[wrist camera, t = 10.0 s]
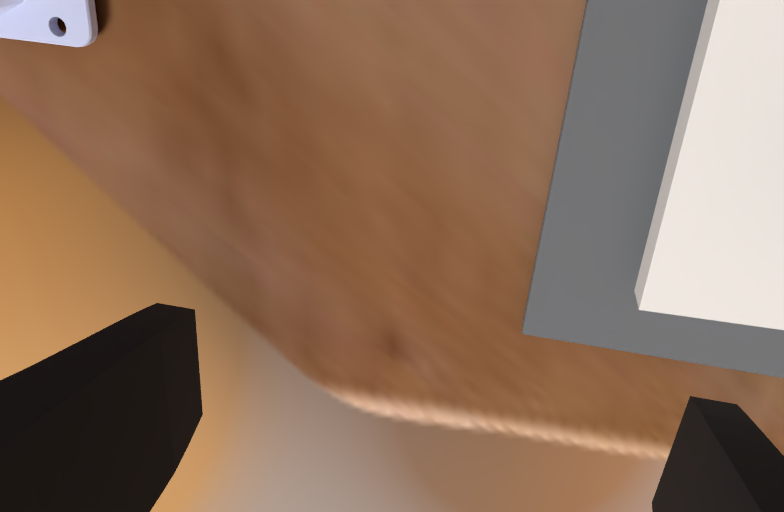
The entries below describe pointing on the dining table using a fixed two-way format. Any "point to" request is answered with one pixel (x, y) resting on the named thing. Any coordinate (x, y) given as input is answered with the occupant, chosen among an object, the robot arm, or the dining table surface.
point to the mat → (625, 194)
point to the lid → (724, 177)
